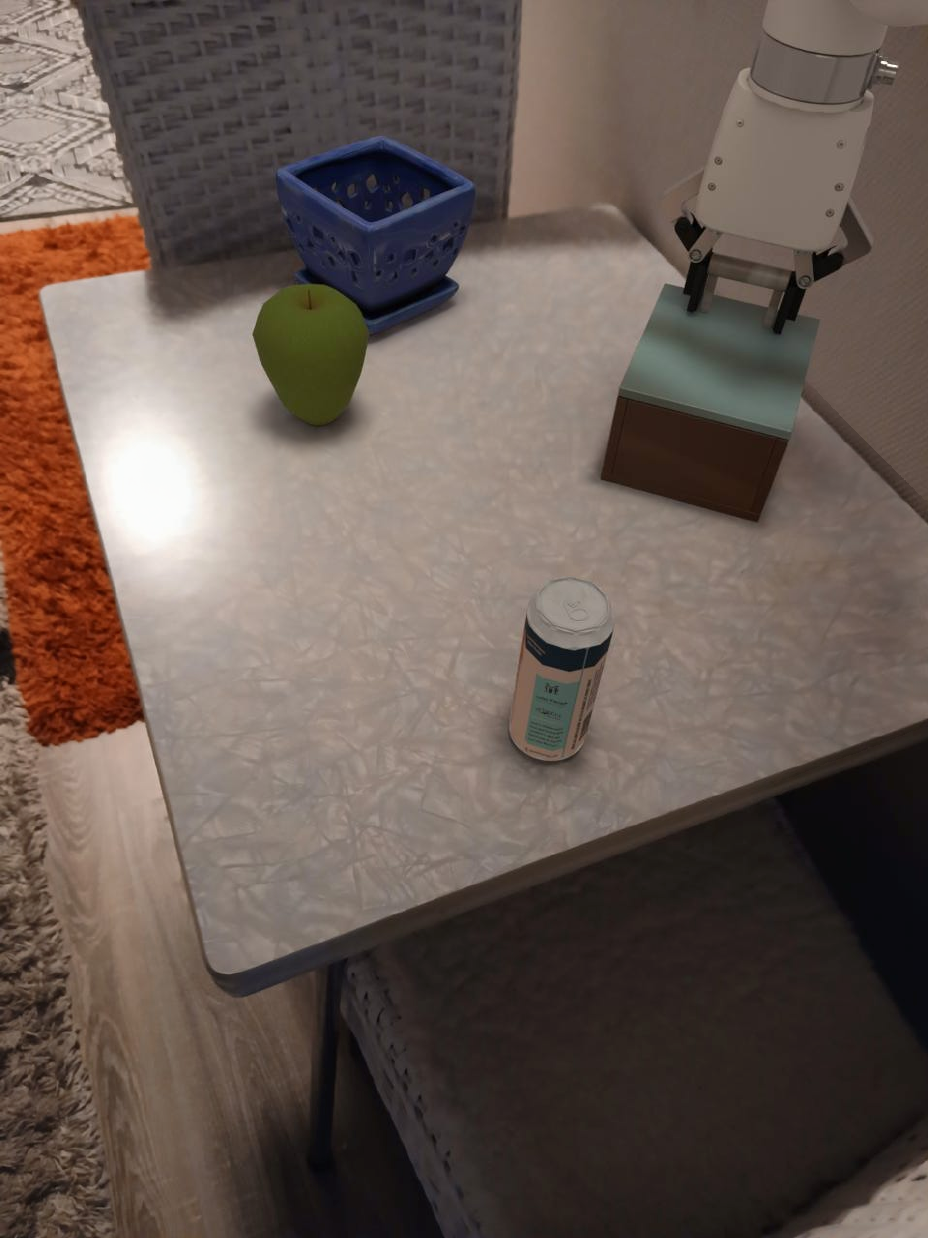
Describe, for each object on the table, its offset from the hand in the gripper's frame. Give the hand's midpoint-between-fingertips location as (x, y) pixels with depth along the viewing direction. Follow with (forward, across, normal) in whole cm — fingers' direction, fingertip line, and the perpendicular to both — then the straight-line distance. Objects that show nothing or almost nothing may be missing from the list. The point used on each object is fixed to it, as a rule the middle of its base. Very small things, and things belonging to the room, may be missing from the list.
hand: (736, 312), depth 76 cm
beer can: (+10, +3, +37) cm, 39 cm away
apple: (+10, +30, +14) cm, 35 cm away
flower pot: (+10, +33, -5) cm, 35 cm away
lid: (+2, 0, +5) cm, 5 cm away
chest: (+10, 0, +5) cm, 11 cm away
